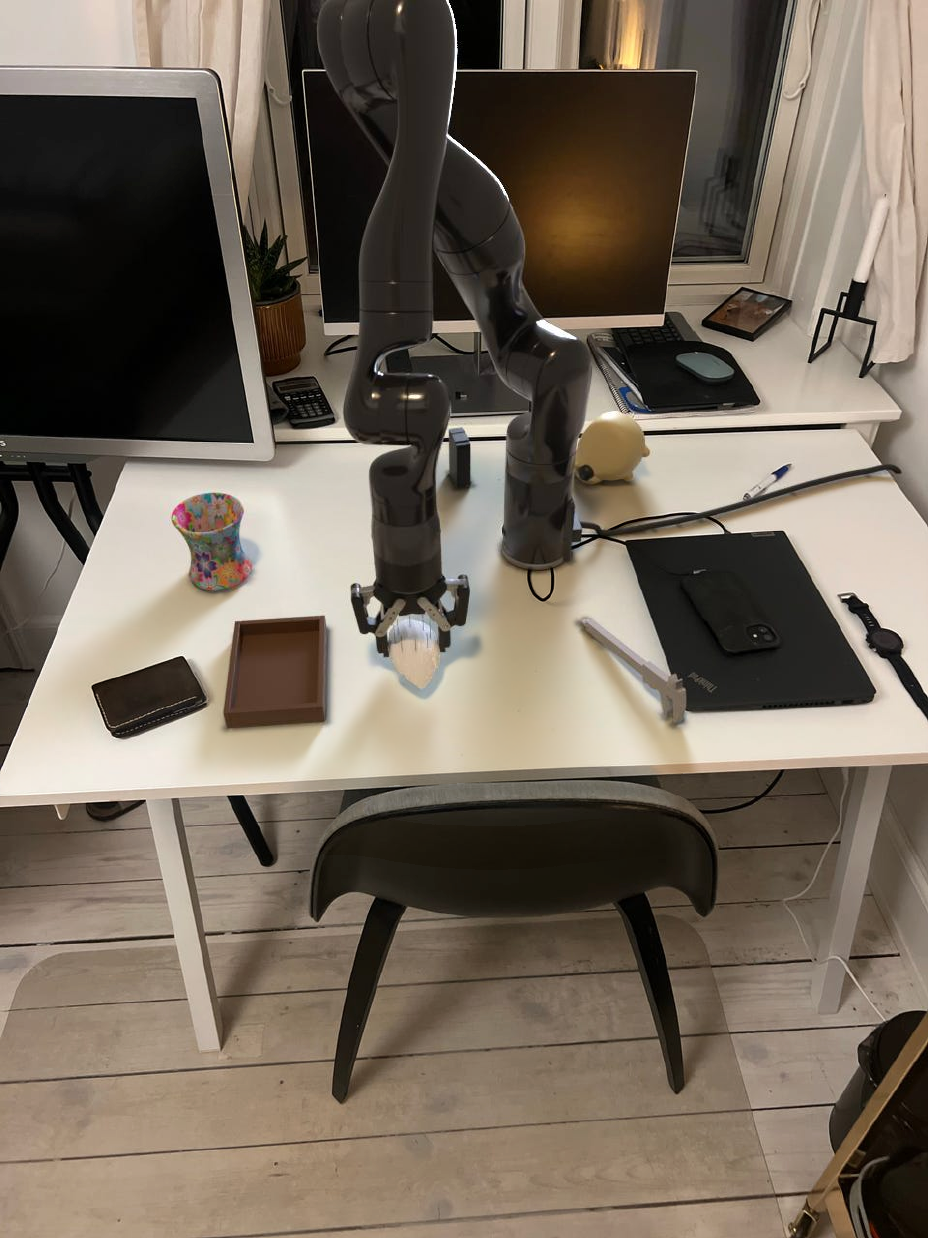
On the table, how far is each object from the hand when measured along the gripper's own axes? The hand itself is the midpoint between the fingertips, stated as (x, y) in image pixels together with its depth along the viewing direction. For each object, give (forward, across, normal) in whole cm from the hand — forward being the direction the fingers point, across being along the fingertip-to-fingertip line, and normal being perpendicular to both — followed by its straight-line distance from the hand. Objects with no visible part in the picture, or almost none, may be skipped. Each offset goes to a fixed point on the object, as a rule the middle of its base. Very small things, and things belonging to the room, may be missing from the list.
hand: (414, 649), depth 117 cm
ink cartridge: (+4, +10, +41) cm, 42 cm away
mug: (+3, -25, +23) cm, 34 cm away
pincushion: (+1, 0, 0) cm, 1 cm away
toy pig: (+4, +33, +40) cm, 52 cm away
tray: (+3, -17, 0) cm, 17 cm away
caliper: (+4, +26, -3) cm, 27 cm away
